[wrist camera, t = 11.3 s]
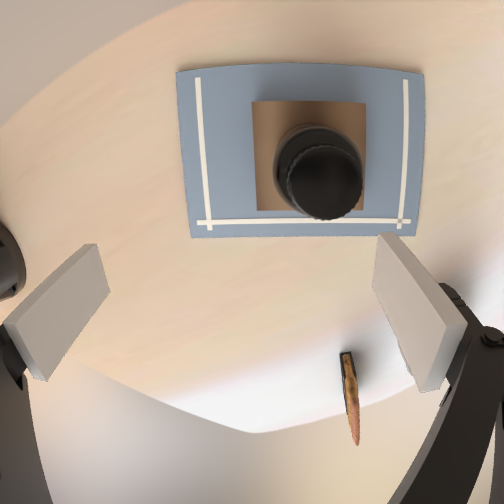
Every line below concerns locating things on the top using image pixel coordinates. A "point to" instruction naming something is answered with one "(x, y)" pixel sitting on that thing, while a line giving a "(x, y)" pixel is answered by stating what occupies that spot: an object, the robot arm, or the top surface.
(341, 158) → the supplement bottle
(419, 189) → the board
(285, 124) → the walnut plinth
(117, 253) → the top surface
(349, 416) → the ammunition clip
